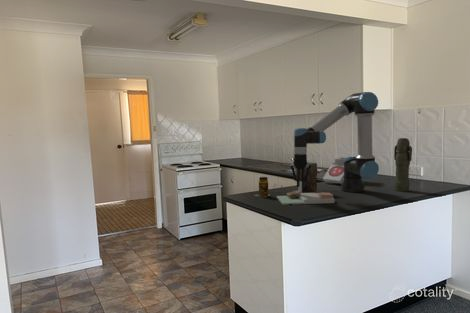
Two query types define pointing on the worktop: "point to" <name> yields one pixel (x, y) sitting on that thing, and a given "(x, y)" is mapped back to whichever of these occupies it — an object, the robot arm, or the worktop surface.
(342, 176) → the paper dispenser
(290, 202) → the mat
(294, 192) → the walnut coaster
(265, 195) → the condiment
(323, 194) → the terracotta tile
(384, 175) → the worktop surface
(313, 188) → the knife block
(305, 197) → the pale grey square slab
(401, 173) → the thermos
